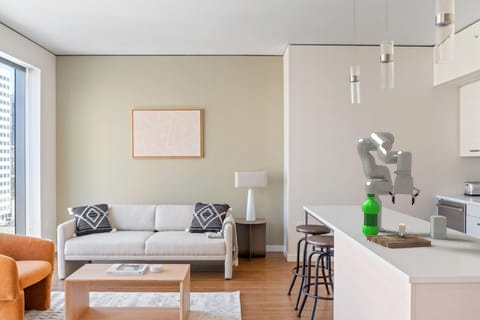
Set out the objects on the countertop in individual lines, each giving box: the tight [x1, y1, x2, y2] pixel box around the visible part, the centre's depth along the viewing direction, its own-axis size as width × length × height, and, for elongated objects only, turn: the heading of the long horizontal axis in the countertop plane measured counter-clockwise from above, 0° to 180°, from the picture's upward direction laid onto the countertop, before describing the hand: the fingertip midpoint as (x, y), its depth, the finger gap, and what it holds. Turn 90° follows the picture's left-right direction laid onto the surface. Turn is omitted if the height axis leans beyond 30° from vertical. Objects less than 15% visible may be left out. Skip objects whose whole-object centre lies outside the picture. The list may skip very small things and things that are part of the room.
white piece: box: [398, 222, 406, 237], centre depth 225 cm, size 3×13×7 cm, turn 156°
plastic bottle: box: [361, 193, 380, 237], centre depth 241 cm, size 10×10×25 cm
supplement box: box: [429, 215, 448, 240], centre depth 239 cm, size 7×7×13 cm
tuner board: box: [366, 233, 432, 249], centre depth 225 cm, size 20×26×3 cm
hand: (403, 204), depth 228 cm, fingers open, 9 cm apart
